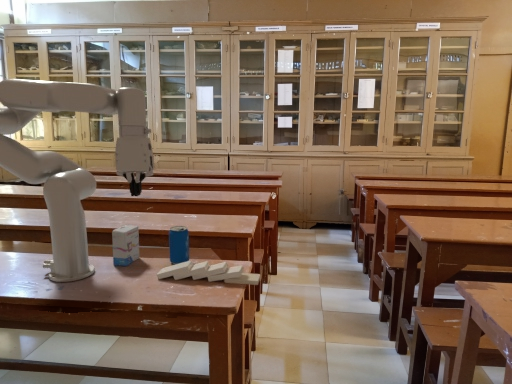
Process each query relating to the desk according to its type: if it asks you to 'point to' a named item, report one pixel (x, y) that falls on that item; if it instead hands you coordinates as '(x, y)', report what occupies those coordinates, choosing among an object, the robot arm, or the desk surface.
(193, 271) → the domino
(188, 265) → the domino
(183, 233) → the beverage can
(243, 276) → the domino
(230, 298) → the desk surface
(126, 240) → the ink box
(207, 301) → the desk surface
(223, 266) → the domino
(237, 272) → the domino
